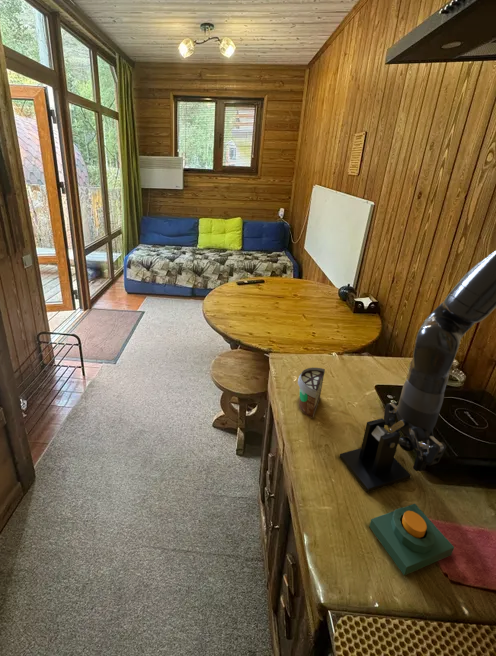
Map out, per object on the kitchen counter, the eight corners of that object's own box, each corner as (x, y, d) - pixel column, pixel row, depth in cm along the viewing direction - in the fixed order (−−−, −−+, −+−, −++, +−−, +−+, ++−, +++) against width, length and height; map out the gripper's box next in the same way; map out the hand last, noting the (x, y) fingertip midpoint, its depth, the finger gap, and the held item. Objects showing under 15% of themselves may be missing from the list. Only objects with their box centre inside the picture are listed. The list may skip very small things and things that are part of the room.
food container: (301, 388, 98) (304, 361, 95) (320, 395, 95) (325, 368, 92) (289, 412, 88) (293, 383, 85) (311, 421, 85) (316, 392, 82)
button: (411, 514, 59) (414, 508, 59) (429, 535, 56) (431, 528, 55) (397, 520, 58) (399, 513, 58) (414, 541, 55) (416, 534, 54)
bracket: (378, 446, 78) (388, 408, 74) (410, 478, 70) (422, 438, 66) (339, 457, 75) (346, 418, 71) (366, 493, 67) (377, 451, 63)
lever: (400, 444, 75) (408, 434, 75) (412, 455, 72) (420, 445, 72) (368, 433, 70) (376, 422, 70) (379, 444, 67) (387, 433, 67)
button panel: (412, 510, 63) (417, 496, 62) (451, 555, 56) (457, 540, 55) (368, 526, 60) (372, 512, 59) (404, 575, 53) (409, 560, 52)
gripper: (465, 420, 64) (444, 479, 69) (405, 377, 77) (392, 430, 82) (438, 428, 62) (419, 488, 67) (381, 382, 75) (369, 436, 80)
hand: (404, 456), depth 74 cm, fingers open, 6 cm apart
